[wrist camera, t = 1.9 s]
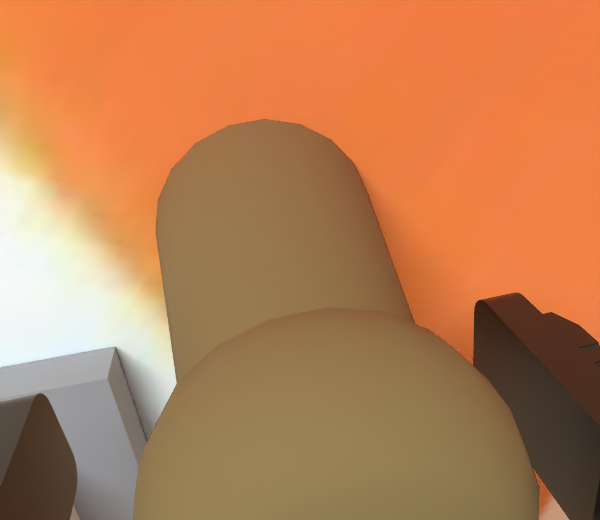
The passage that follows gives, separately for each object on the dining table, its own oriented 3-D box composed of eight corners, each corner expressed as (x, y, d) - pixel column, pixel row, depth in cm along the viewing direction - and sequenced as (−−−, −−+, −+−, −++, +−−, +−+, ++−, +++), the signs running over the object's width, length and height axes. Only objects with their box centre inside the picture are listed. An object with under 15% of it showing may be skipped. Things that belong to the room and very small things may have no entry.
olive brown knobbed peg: (288, 348, 18) (391, 801, 8) (113, 257, 15) (-42, 736, 6) (412, 199, 16) (737, 541, 6) (236, 70, 14) (316, 296, 4)
